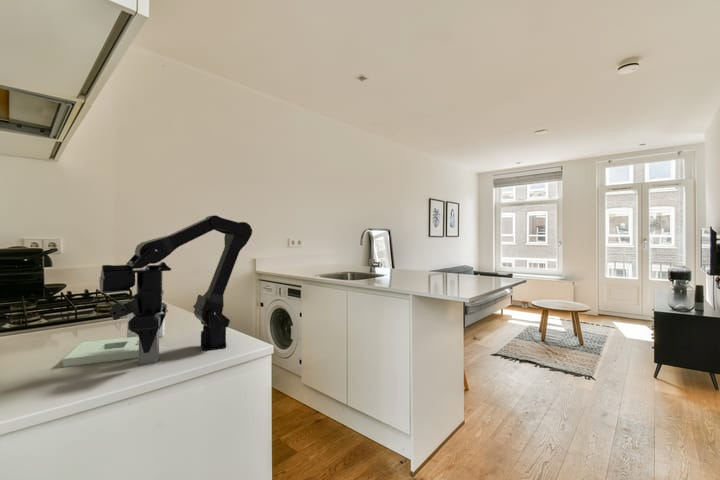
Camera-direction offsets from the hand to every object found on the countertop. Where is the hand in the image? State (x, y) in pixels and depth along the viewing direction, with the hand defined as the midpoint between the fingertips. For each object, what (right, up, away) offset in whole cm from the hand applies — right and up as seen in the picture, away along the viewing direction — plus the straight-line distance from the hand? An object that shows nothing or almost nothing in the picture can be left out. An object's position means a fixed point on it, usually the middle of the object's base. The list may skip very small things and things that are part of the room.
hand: (149, 346), depth 86 cm
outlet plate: (-14, -4, +6) cm, 15 cm away
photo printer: (-13, -4, +19) cm, 24 cm away
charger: (0, -4, 0) cm, 4 cm away
